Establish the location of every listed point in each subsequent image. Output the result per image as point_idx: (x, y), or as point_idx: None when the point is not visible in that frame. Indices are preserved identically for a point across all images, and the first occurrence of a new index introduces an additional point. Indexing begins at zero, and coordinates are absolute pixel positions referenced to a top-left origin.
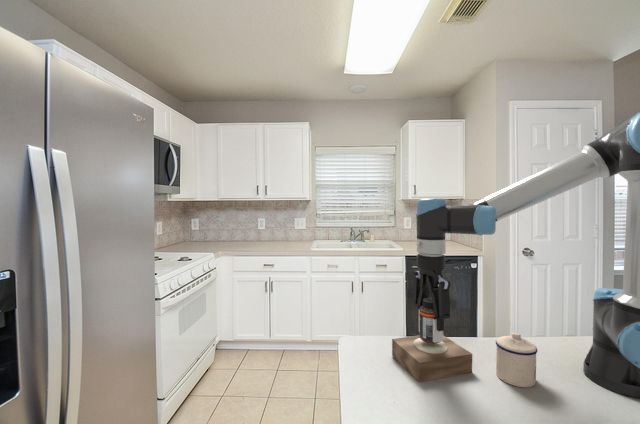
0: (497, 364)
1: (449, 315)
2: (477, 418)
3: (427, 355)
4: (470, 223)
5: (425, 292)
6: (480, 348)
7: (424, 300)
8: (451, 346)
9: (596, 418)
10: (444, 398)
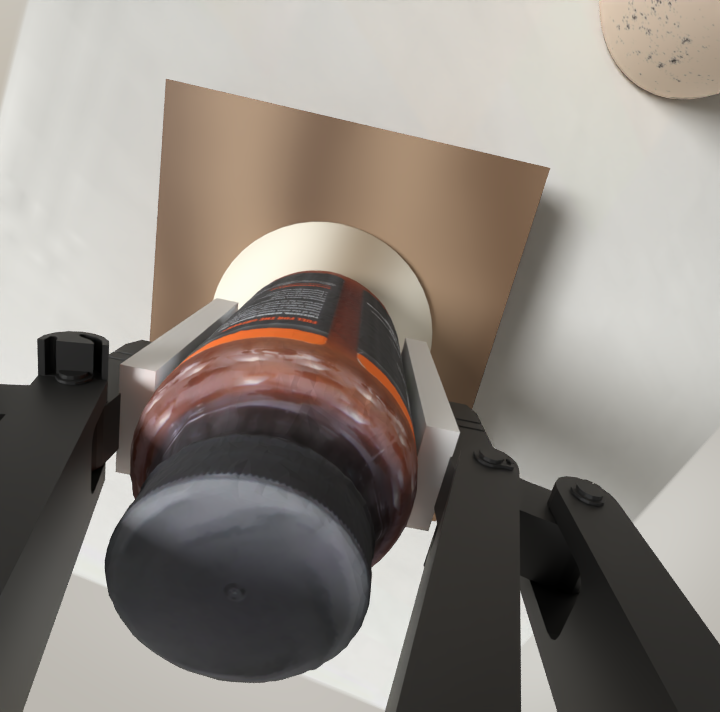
0: (667, 58)
1: (618, 517)
2: (697, 451)
3: None
4: None
5: (10, 671)
6: None
7: (215, 676)
8: (398, 208)
9: None
10: (555, 460)
